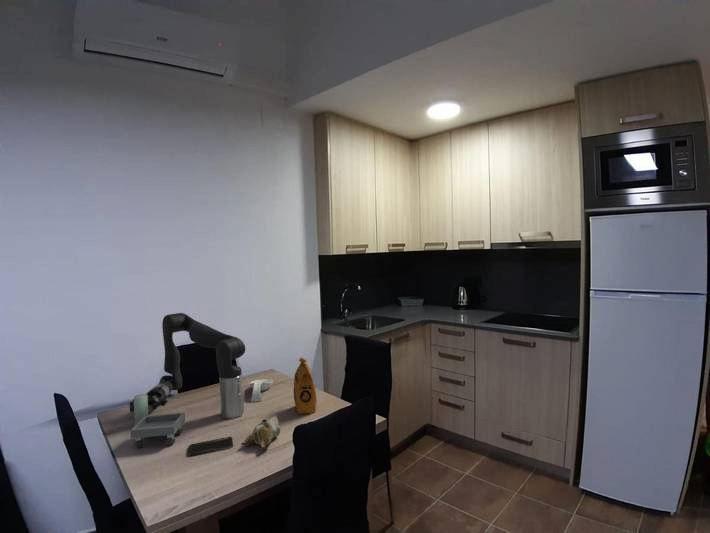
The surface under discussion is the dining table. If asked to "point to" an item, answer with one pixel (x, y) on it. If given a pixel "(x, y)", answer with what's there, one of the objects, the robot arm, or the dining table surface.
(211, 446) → the phone
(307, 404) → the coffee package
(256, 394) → the white t-shaped piece
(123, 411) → the dining table surface
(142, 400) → the pale green cylinder
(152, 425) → the tray
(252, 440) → the ceramic sculpture
